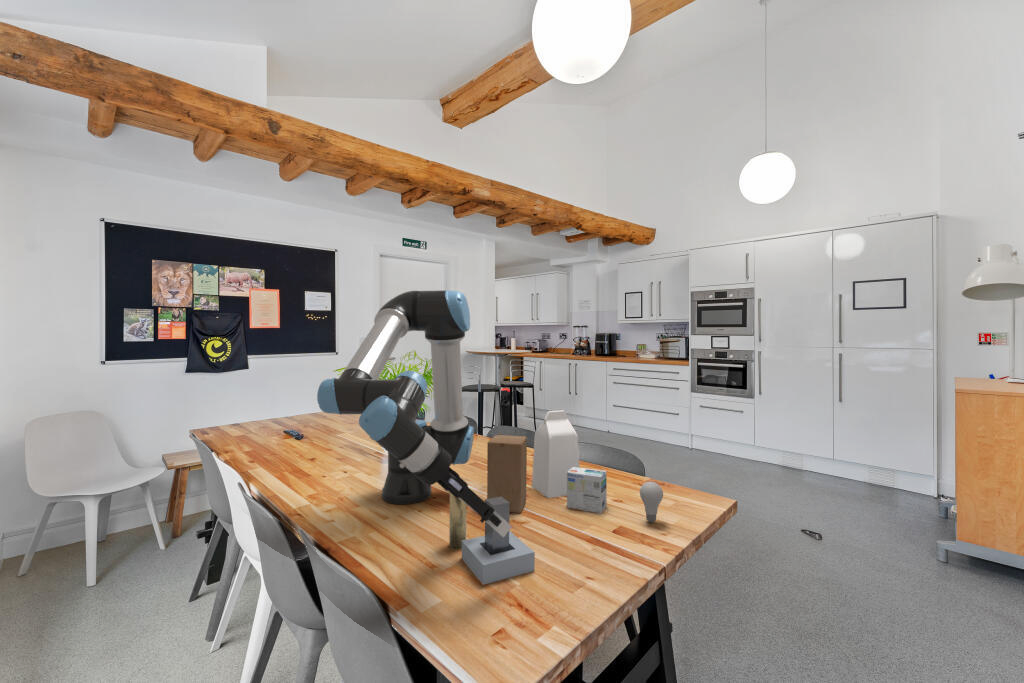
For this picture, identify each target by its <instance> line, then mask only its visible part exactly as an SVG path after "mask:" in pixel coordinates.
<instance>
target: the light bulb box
mask: <svg viewBox="0 0 1024 683" xmlns="http://www.w3.org/2000/svg"><path fill="white" fill-rule="evenodd" d="M607 501H608V500H607V470H601V469H595V468H594V469H593V468H583V467H579V468H578V467H572V468H571V469H570V470H569V471H568V472H567V495H566V508H567V509H575V510H579V511H585V512H591V513H597V514H602V513H603V512H604V511H605V509H606V507H607Z"/></svg>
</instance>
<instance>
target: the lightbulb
mask: <svg viewBox="0 0 1024 683" xmlns="http://www.w3.org/2000/svg"><path fill="white" fill-rule="evenodd" d="M639 496H640V499H641V501H642V503H643V505H644V512H645V518H646V521H648V522H649V524H651V523H655V522H656V521H657V514H658V508H659V506H660V504H661V502H662V501H663V498H664V491H663V487H661V486H660V484H658V483H657V482H654V481H647V482H646V481H645V482H644V483H643V484H642V485H641V486H640V488H639Z"/></svg>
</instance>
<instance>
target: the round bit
mask: <svg viewBox="0 0 1024 683" xmlns="http://www.w3.org/2000/svg"><path fill="white" fill-rule="evenodd" d="M448 533H449V536H448V537H449V538H448V539H449V548H450V549H451V550H462V541H463V540H467V504H465V503H464V502H463V501H462V500H461V499H460V498H456V497H455V496H454V495H453V494H451V493H450V492H449V532H448Z"/></svg>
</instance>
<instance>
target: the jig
mask: <svg viewBox="0 0 1024 683" xmlns="http://www.w3.org/2000/svg"><path fill="white" fill-rule="evenodd" d="M535 553H536V552H535V551H534V550H533V549H532V548H531V547H529V545H527V544H526V543H525V542H524V541H522V539H520V538H519V537H517V536H516V534H514V533H513V532H512V531H511V530H509V551H506V552H502V553H498V554H494V555H490V554H489V553H488V552H487V551H486V550H485V535H480V536H478V537H477V536H476V537H473V538H469V539H467V538H466V540H463V541H462V549H461V559H462V561H463V562H464V563H465V564H466V566H467V567H468V568H469V569H470V570H471V572H472V573H473V574H474V575H475V577H476V578H477V579H478V580H479V581H480V583H481V584H482V586H483V585H489V584H491V583H495V582H498V581H502V580H506V579H509V578H513V577H517V576H520V575H525V574H528V573H531V572H534V571H535V568H536V567H535V566H536V565H535V561H536V560H535Z"/></svg>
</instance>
